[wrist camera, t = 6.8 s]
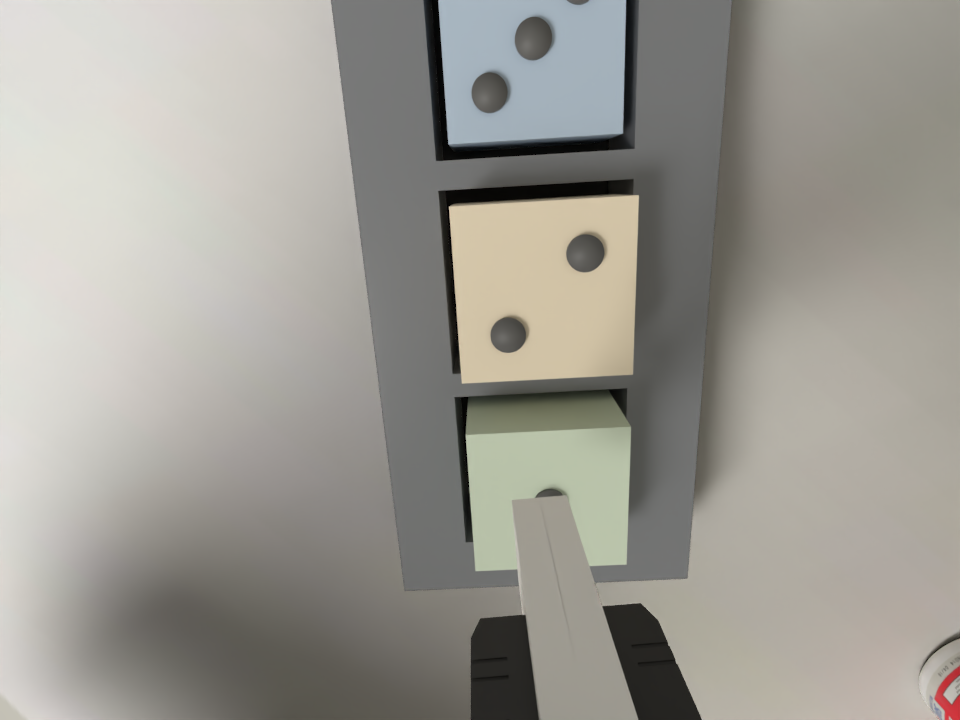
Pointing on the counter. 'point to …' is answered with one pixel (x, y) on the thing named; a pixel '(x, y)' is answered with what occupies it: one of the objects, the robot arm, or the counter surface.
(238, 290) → the counter surface
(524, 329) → the beige counting block
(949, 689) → the pill bottle
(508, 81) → the light blue block
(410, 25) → the grey counting block tray
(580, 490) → the pale green counting block
